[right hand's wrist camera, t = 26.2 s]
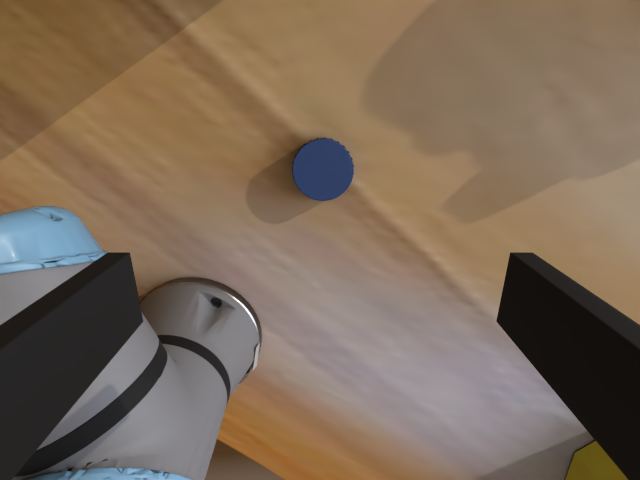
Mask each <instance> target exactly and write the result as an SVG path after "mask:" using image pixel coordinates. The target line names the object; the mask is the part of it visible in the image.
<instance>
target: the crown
mask: <svg viewBox="0 0 640 480" xmlns="http://www.w3.org/2000/svg"><path fill="white" fill-rule="evenodd" d="M565 480H628V479H627V478H626V476H625V475H624V474H623V473H622V472H621V470H620V469H619V468H618V467H617V466H616V464H615V463H614V462H613V461H612V460H611V458H610V457H609V456H608V455H607V454H606V452H605V451H604V450H603V449H602V448H601V446H600V445H599V444H598V443H597V442H596V441H594V442H593V443H591V444H589V445H587V446H586V447H584V448H582V449H581V450H579V451H577V452H575V454H574V456H573V459H572V462H571V465H570V468H569V470H568V473H567V476H566V479H565Z"/></svg>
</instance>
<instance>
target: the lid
mask: <svg viewBox="0 0 640 480" xmlns="http://www.w3.org/2000/svg"><path fill="white" fill-rule="evenodd" d="M353 167H354V165H353V162H352V158H351V157H350V155H349V152H348V151H347V150H346V149H345V147H344V145H343V146H342V145H341V144H340V143H339V142H338V141H337V142H336V141H334V140H332V139H327V138H325V137H324V138H319V139H318V138H317V139H314V140H312V141H311V140H310V142H308V143H306V144H304V146H303V147H302V148H301V149H299V152H298V153H297V155H295V160H294V162H293V170H292V171H293V178H294V180H295V183H296V185H297V187H298V188H299V189H300V191H301V192H302V193H304V194H305V195H306V196H308V197H310V198H312V199H315V200H320V201H326V200H331V199H334V198H336V197H338V196H340V195H341V194H343V193H344V192H345V191H346V190H347V188H348V187H349V185H350V183H351V181H352V178H353V174H354V172H353V171H354V169H353Z"/></svg>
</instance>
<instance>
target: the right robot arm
mask: <svg viewBox="0 0 640 480" xmlns="http://www.w3.org/2000/svg"><path fill="white" fill-rule="evenodd" d="M497 322H498V324H499V325H500V326H501V327H502V329H503V330H504V331H505V332H506V333H507V335H508V336H509V337H510V338H511V339H512V341H513V342H514V343H515V344H516V345H517V347H518V348H519V349H520V350H521V351H522V353H523V354H524V355H525V356H526V357H527V359H528V360H529V361H530V362H531V363H532V365H533V366H534V367H535V368H536V369H537V371H538V372H539V373H540V374H541V375H542V377H543V378H544V379H545V380H546V381H547V383H548V384H549V385H550V386H551V387H552V389H553V390H554V391H555V392H556V393H557V395H558V396H559V397H560V398H561V399H562V401H563V402H564V403H565V404H566V405H567V407H568V408H569V409H570V410H571V411H572V413H573V414H574V415H575V416H576V417H577V419H578V420H579V421H580V422H581V424H582V425H583V426H584V427H585V428H586V430H587V431H588V432H589V433H590V434H591V436H592V437H593V438H594V439H595V440H596V442H597V443H598V444H599V445H600V446H601V448H602V449H603V450H604V451H605V452H606V454H607V455H608V456H609V457H610V458H611V460H612V461H613V462H614V463H615V464H616V466H617V467H618V468H619V469H620V470H621V472H622V473H623V474H624V475H625V476H626V478H627V479H628V480H640V325H639V324H637V323H636V322H634V321H633V320H631V319H630V318H628V317H627V316H625V315H624V314H623V313H621V312H620V311H618V310H617V309H615V308H614V307H612V306H611V305H609V304H608V303H606V302H605V301H603V300H602V299H600V298H599V297H597V296H596V295H594V294H593V293H591V292H590V291H589V290H587V289H586V288H584V287H583V286H581V285H580V284H578V283H577V282H575V281H574V280H572V279H571V278H569V277H568V276H566V275H565V274H563V273H562V272H560V271H559V270H557V269H556V268H554V267H553V266H552V265H550V264H549V263H547V262H546V261H544V260H543V259H541V258H540V257H538V256H537V255H535V254H534V253H510V257H509V262H508V267H507V272H506V277H505V282H504V287H503V292H502V297H501V302H500V307H499V312H498V317H497ZM261 341H262V333H261V326H260V323H259V320H258V317H257V315H256V313H255V312H254V310H253V308H252V307H251V306H250V304H249V303H248V302H247V301H246V300H245V299H244V298H243V297H242V296H241V295H240V294H238V293H237V292H236V291H234V290H233V289H231V288H229V287H227V286H226V285H223V284H221V283H219V282H216V281H213V280H209V279H203V278H180V279H175V280H172V281H168V282H166V283H164V284H162V285H160V286H158V287H157V288H155V289H154V290H153V291H151V292H150V293H149V294H148V295H147V296H146V297H145V299H144V300H143V301H142V302H141V303H140V302H139V297H138V292H137V287H136V282H135V277H134V272H133V267H132V262H131V257H130V253H108V252H106V251H103V250H102V249H101V247H100V246H99V244H98V243H97V242H96V240H95V239H94V238H93V236H92V235H91V233H90V232H89V231H88V229H87V228H86V227H85V225H84V224H83V222H82V221H81V220H80V219H79V218H78V216H76V215H75V214H74V213H72V212H71V211H69V210H67V209H64V208H61V207H56V206H40V207H33V208H28V209H23V210H18V211H13V212H8V213H4V214H0V480H205V477H206V473H207V470H208V466H209V463H210V460H211V456H212V453H213V450H214V446H215V443H216V439H217V436H218V433H219V429H220V426H221V423H222V419H223V416H224V413H225V409H226V406H227V403H228V400H229V397H230V396H231V395H232V393H233V392H234V391H235V390H236V388H237V387H238V384H239V383H241V382H242V381H243V380H244V379H245V378H246V377H247V375H248V374H249V373H250V371H251V370H252V368H253V370H254V369H255V367H256V366H257V359H258V354H259V351H260V347H261Z"/></svg>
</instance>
